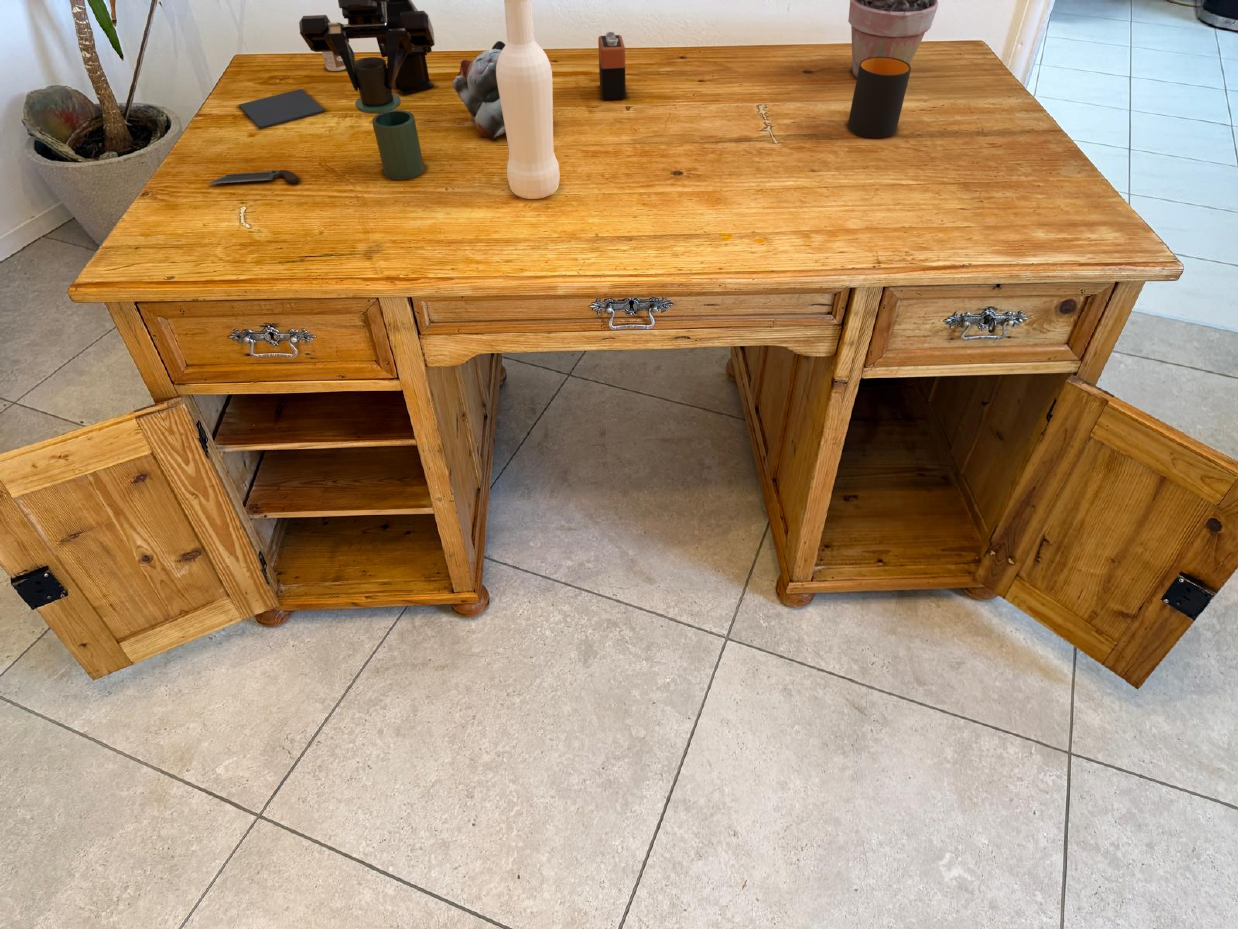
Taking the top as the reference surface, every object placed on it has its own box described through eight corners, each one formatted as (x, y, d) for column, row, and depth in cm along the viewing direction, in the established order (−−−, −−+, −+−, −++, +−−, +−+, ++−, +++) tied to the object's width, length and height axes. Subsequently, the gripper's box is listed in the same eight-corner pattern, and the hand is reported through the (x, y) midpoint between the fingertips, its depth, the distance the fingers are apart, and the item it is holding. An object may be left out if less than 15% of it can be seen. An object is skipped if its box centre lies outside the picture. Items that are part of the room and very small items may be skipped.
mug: (874, 107, 146) (887, 46, 138) (904, 135, 138) (920, 72, 130) (831, 112, 145) (842, 50, 137) (859, 140, 137) (872, 77, 129)
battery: (602, 100, 150) (600, 43, 142) (599, 86, 154) (597, 29, 147) (625, 99, 150) (625, 41, 143) (622, 85, 154) (621, 28, 147)
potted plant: (837, 49, 166) (862, -96, 147) (934, 64, 159) (972, -85, 141) (810, 81, 154) (834, -72, 136) (913, 98, 148) (952, -59, 130)
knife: (301, 171, 131) (300, 167, 131) (297, 183, 129) (296, 179, 128) (213, 177, 130) (211, 173, 130) (207, 189, 128) (205, 185, 127)
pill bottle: (343, 72, 161) (332, 30, 155) (322, 70, 161) (311, 29, 156) (352, 64, 164) (342, 22, 158) (332, 62, 164) (321, 21, 159)
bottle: (509, 177, 129) (484, -36, 108) (559, 174, 130) (545, -38, 108) (508, 202, 124) (482, -17, 102) (561, 199, 124) (546, -20, 103)
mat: (301, 90, 155) (301, 88, 154) (324, 111, 148) (324, 109, 148) (239, 106, 150) (238, 104, 150) (260, 128, 143) (259, 126, 143)
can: (413, 157, 135) (403, 106, 129) (430, 172, 131) (420, 120, 125) (378, 168, 132) (365, 116, 126) (394, 183, 129) (382, 130, 122)
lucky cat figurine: (478, 146, 137) (440, 61, 131) (480, 144, 148) (445, 66, 142) (559, 110, 136) (524, 23, 131) (555, 111, 147) (522, 31, 142)
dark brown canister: (392, 95, 128) (382, 50, 123) (408, 110, 124) (399, 65, 119) (350, 105, 125) (339, 60, 120) (366, 121, 121) (355, 75, 116)
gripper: (281, -47, 112) (290, 66, 113) (416, -53, 113) (425, 60, 113) (308, -3, 123) (316, 100, 124) (431, -8, 124) (439, 94, 125)
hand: (372, 88), depth 121 cm, fingers closed on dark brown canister, 5 cm apart
